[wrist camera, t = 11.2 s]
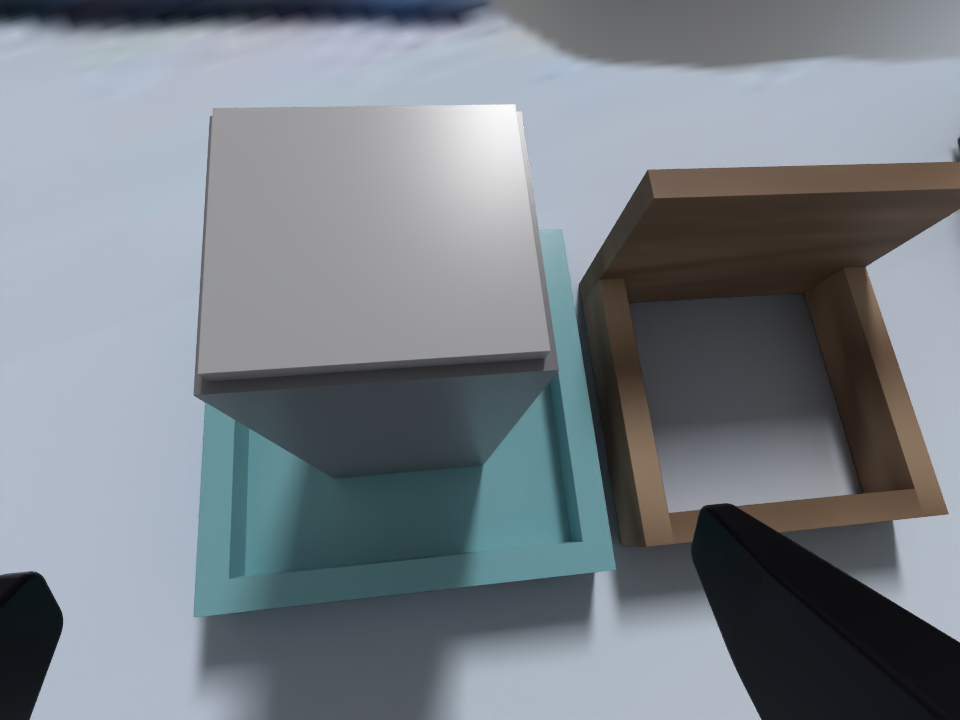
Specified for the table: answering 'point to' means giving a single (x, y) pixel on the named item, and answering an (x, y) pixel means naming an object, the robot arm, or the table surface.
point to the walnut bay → (769, 271)
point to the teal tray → (408, 504)
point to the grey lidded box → (373, 283)
